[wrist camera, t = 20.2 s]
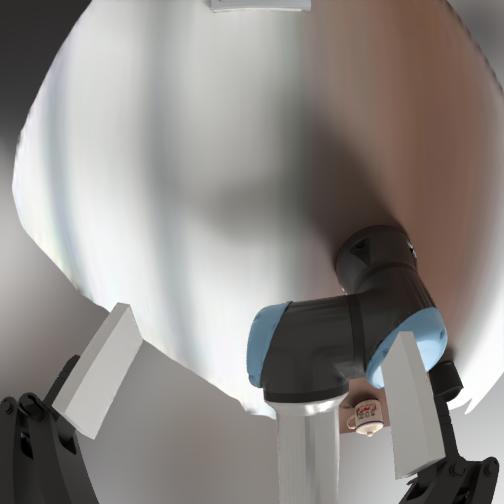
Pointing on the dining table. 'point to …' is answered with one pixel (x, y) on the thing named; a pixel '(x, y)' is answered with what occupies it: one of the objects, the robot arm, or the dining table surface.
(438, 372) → the pen holder
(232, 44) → the dining table surface
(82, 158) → the dining table surface
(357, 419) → the teacup with lid
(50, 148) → the dining table surface
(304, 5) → the dock plate
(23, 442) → the robot arm
